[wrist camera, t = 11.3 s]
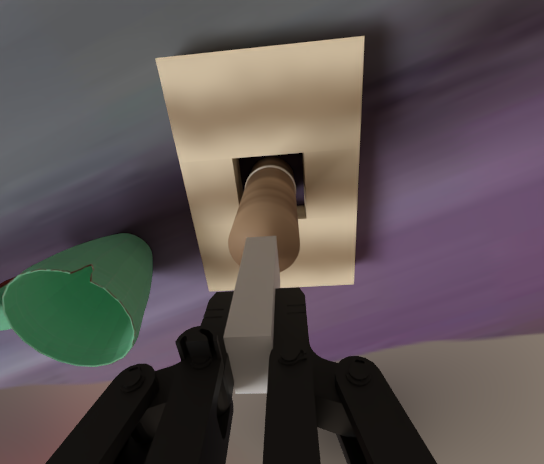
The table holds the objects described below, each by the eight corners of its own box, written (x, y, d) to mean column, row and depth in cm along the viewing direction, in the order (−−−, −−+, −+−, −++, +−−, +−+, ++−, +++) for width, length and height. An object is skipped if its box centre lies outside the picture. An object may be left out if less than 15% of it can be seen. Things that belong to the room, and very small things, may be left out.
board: (170, 59, 23) (155, 58, 21) (355, 40, 22) (364, 35, 20) (215, 273, 33) (209, 291, 30) (347, 266, 32) (353, 284, 29)
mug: (160, 205, 29) (106, 262, 20) (187, 287, 34) (152, 363, 25) (20, 220, 30) (-88, 281, 22) (63, 297, 35) (-12, 374, 26)
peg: (246, 157, 27) (220, 214, 16) (293, 153, 26) (299, 208, 16) (251, 201, 29) (232, 278, 18) (296, 198, 28) (303, 274, 18)
